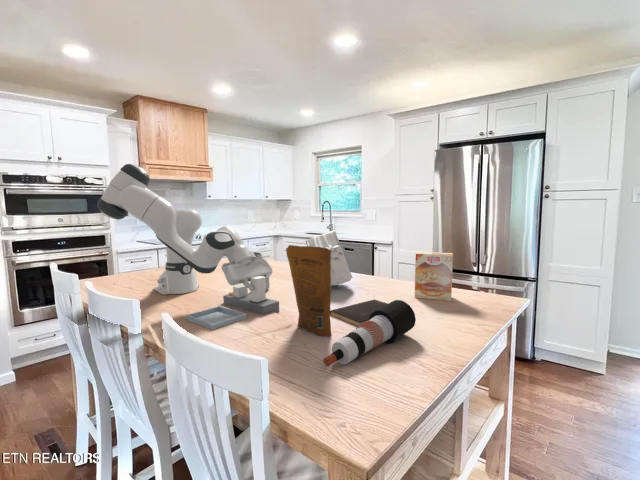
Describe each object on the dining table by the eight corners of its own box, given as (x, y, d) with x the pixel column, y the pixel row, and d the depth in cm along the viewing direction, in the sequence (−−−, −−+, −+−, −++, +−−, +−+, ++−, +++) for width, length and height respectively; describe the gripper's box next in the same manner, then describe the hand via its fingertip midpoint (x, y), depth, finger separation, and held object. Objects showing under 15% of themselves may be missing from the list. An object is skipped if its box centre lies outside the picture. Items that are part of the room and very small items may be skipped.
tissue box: (355, 285, 158) (336, 232, 156) (321, 297, 159) (302, 245, 156) (351, 275, 179) (335, 229, 177) (322, 286, 180) (305, 240, 177)
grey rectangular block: (250, 300, 130) (250, 277, 129) (259, 298, 133) (258, 275, 132) (257, 302, 128) (256, 279, 127) (265, 299, 131) (265, 277, 130)
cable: (322, 383, 87) (306, 345, 88) (396, 333, 110) (382, 304, 111) (347, 380, 79) (330, 339, 81) (421, 327, 103) (406, 296, 104)
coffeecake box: (414, 297, 147) (415, 253, 145) (416, 293, 154) (417, 251, 151) (451, 301, 141) (452, 255, 139) (451, 296, 148) (453, 252, 146)
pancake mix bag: (324, 341, 102) (323, 249, 99) (285, 325, 116) (284, 243, 113) (339, 335, 106) (339, 247, 103) (301, 320, 120) (299, 242, 117)
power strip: (223, 305, 139) (222, 286, 138) (239, 300, 145) (238, 282, 144) (263, 317, 124) (263, 295, 123) (279, 311, 130) (278, 291, 129)
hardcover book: (404, 314, 127) (404, 308, 127) (359, 328, 113) (359, 321, 113) (373, 304, 140) (373, 299, 140) (329, 315, 126) (329, 309, 126)
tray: (186, 322, 119) (185, 315, 119) (220, 311, 130) (219, 305, 130) (213, 332, 109) (212, 325, 109) (247, 320, 120) (246, 313, 120)
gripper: (222, 259, 125) (240, 289, 120) (264, 252, 141) (281, 278, 136) (216, 269, 128) (233, 299, 123) (257, 262, 144) (274, 287, 139)
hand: (259, 288), depth 130 cm, fingers closed on grey rectangular block, 4 cm apart
